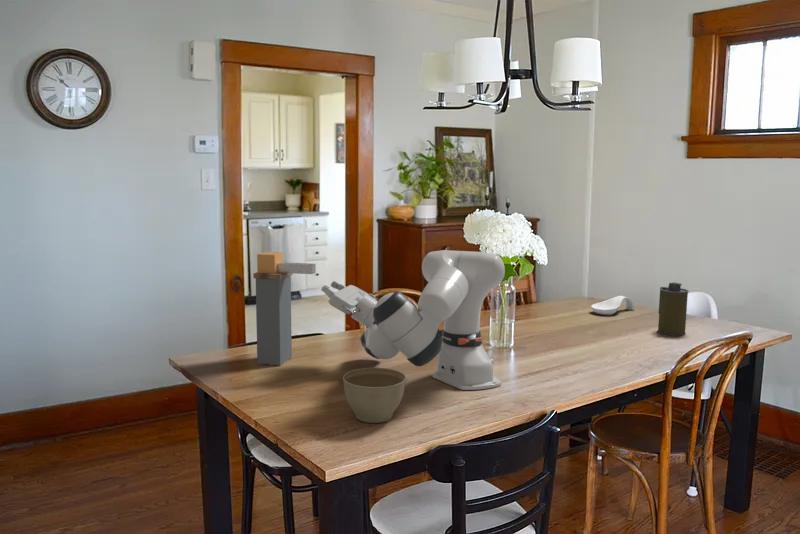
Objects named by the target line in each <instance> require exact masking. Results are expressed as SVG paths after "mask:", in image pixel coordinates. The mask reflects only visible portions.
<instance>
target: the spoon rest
mask: <svg viewBox="0 0 800 534" xmlns="http://www.w3.org/2000/svg"><path fill="white" fill-rule="evenodd" d="M623 301H625V302H626V305H625V309H626V310H627V311H632V312H634V311H635V310H636V309H635V308H636V306H635V303H634V301H633V300H632V299H631V298H630V297H628V296H624V295H618V296H614V297H613V298H609V299H607V300H603V301H600V302H596V303H593V304H591V306H590V307H591V309H592V311H593V312H594V313H595V314H598V315H601V316H612V315H614V314H615V313H616V312H617V311H618V310H619V308H620V306H621V304H622V302H623Z"/></svg>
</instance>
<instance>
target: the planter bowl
mask: <svg viewBox="0 0 800 534" xmlns="http://www.w3.org/2000/svg"><path fill="white" fill-rule="evenodd" d="M406 378H407V377H406V375H405V374H404V373H403V372H402V371H401V372H400V371H399V370H395V369H391V368H384V367H364V368H363V367H362V368H357V369H352V370H350V371H348V372H346V373H344V375H343V376H342V382H343V388H344V389H343V390H344V394H345V398H346V400H347V403H348V405H349V407H350V408H351V410H352V412H354V414H355V418H356V419H357V420H359V421H361V422H364V423H369V424H378V423H386V422H388V421H390V420H391V419H393V415H394V413H395V412H396V410H397V409H398V407H399V406H400V404H401V402H402V399H403V396H404V391H405V385H406V381H407V380H406Z"/></svg>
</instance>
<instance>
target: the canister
mask: <svg viewBox="0 0 800 534" xmlns="http://www.w3.org/2000/svg"><path fill="white" fill-rule="evenodd" d="M682 285H683V283H679V282H669V283H668V286H661V287H660V288H659V304H658V314H659V315H658V326H657V327H658V328H657V332H658V333H659V334H662V335H665V336H677V337H678V336H684V335H686V333H687V332H686V325H687V309H688V297H689V296H688V295H689V294H688V293H689V289H686V288H681V286H682Z"/></svg>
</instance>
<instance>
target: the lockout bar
mask: <svg viewBox="0 0 800 534" xmlns="http://www.w3.org/2000/svg"><path fill="white" fill-rule="evenodd" d="M256 261H257V262H256V266H257V267H256V268H257V269H256V270H257V272H256V273H273V274H275V273H293V274H295V275H296V274H297V275H298V274H299V275H301V274H302V275H314V274H316V272H317V271H316V269H317V268H316V267H317V266H316V264H317V263H306V262H284V253H283V252H280V251H279V252H278V251H276V252H275V251H264V252H261V253H257V254H256Z"/></svg>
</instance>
